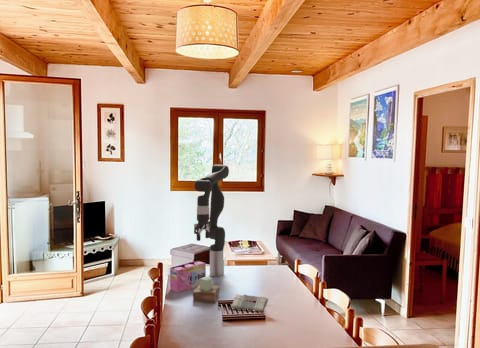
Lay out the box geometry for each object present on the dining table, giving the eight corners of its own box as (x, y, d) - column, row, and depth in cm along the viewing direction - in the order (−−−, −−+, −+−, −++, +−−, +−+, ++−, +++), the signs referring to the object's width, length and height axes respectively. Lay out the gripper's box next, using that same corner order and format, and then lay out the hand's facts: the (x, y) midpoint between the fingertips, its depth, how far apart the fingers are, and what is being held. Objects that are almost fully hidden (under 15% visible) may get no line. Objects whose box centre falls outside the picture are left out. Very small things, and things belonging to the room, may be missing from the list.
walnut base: (198, 294, 217) (198, 284, 217) (218, 296, 215) (219, 285, 215) (193, 302, 205) (193, 291, 205) (214, 304, 203) (214, 293, 203)
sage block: (205, 286, 213) (206, 276, 213) (212, 288, 210) (212, 278, 210) (200, 289, 209) (200, 278, 209) (206, 291, 206) (206, 280, 206)
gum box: (199, 280, 242) (199, 259, 241) (207, 283, 236) (207, 262, 236) (169, 289, 224) (169, 267, 223) (177, 293, 219) (178, 270, 218)
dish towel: (263, 313, 192) (263, 307, 192) (229, 310, 196) (230, 304, 195) (268, 300, 210) (268, 294, 210) (237, 297, 214) (237, 292, 214)
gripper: (205, 211, 233) (205, 236, 234) (190, 213, 221) (190, 240, 222) (214, 212, 229) (214, 238, 230) (200, 214, 217) (200, 242, 218)
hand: (202, 239), depth 226 cm, fingers open, 8 cm apart
